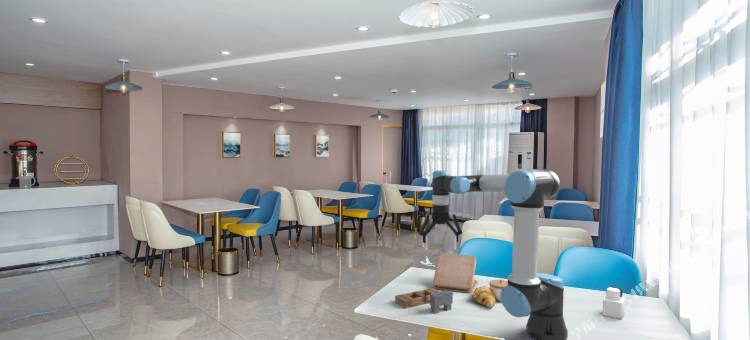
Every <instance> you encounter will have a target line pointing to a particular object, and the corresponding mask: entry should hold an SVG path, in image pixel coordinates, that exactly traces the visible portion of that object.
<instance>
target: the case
mask: <svg viewBox="0 0 750 340" xmlns="http://www.w3.org/2000/svg"><path fill="white" fill-rule="evenodd" d="M476 265H477V258H476V256H475V255H471V254H470V255H468V254H460V253H450V252H449V253H447V252H442V253H439V255H438V258H437V262H436V267H435V270H434V271H435V272H434V275H433V280H432V282H433V288H434V289H436V290H438V291H440V290H442V291H446V290H448V291H451V292H456V293H457V292H458V293H466V294H471V293H473V292H474V291H475V289H476V288H477V285H478V283H479V282H478V280H477V279H474V278H475V273H476Z"/></svg>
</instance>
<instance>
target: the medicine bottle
mask: <svg viewBox="0 0 750 340" xmlns="http://www.w3.org/2000/svg"><path fill="white" fill-rule="evenodd" d="M605 291H606V292H605V296H604V297H603V299H602V301H603V302H602V304H603V305H602V315H603V316H606V317H610V318H614V319H618V320H621V319H623V317H624V316H625V310H626V307H625V306H626V298H624V297H623V289H622V288H620V287H618V286H615V285H614V286H613V285H611V286H610V285H609V286H607V287H606V290H605Z"/></svg>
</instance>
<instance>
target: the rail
mask: <svg viewBox="0 0 750 340" xmlns="http://www.w3.org/2000/svg"><path fill="white" fill-rule="evenodd" d="M437 292H441V291H440V290H439V289H435V288H434V287H430V288H426V289H420V290H416V291H411V292H405V293H402V294H396V295H394V302H395V303H396V304H398V306H401V307H402V308H404V309H409V308H413V307H419V306H422V305H426V304H430V294H432V293H437Z"/></svg>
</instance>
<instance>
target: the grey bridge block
mask: <svg viewBox="0 0 750 340" xmlns="http://www.w3.org/2000/svg"><path fill="white" fill-rule="evenodd" d="M453 292H454V291H448V290H442V291H440V292H437V293H432V294H430V303H429V306H430V312H431V313H433V314H435V315H436V314H439V313H440V307H442V306H443V310H444V311H452V304H453V303H454V301H453V300H454V299H453V296H454V295H453Z"/></svg>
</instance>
